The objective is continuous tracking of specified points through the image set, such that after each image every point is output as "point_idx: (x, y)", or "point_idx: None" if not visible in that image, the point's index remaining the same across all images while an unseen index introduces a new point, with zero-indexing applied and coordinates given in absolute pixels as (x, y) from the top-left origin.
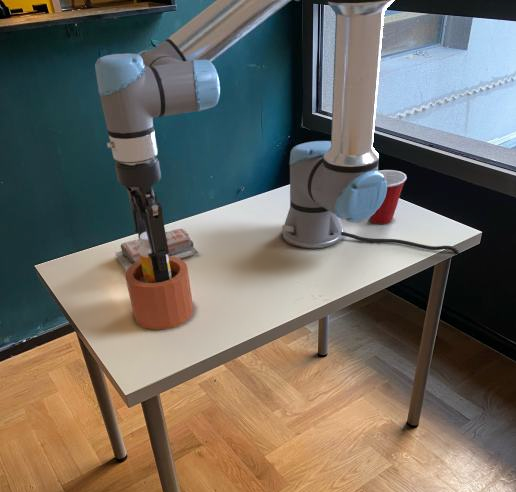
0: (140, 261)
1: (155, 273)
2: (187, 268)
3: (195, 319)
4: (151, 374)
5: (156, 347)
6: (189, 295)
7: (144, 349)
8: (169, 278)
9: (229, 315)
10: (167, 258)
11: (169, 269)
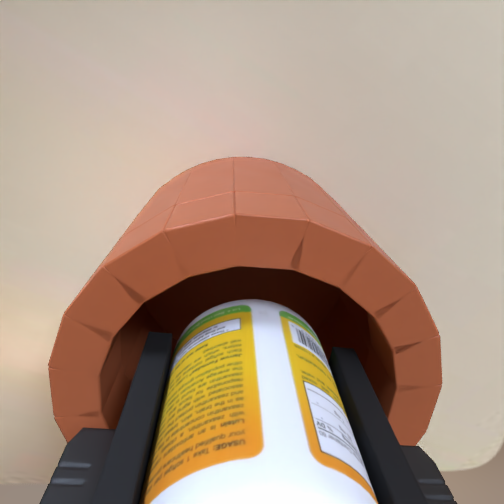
0: (73, 428)
1: None
2: (366, 244)
3: (361, 197)
4: (485, 411)
5: None
6: (352, 219)
7: None
8: (361, 364)
9: (442, 64)
10: (337, 423)
11: (316, 357)
